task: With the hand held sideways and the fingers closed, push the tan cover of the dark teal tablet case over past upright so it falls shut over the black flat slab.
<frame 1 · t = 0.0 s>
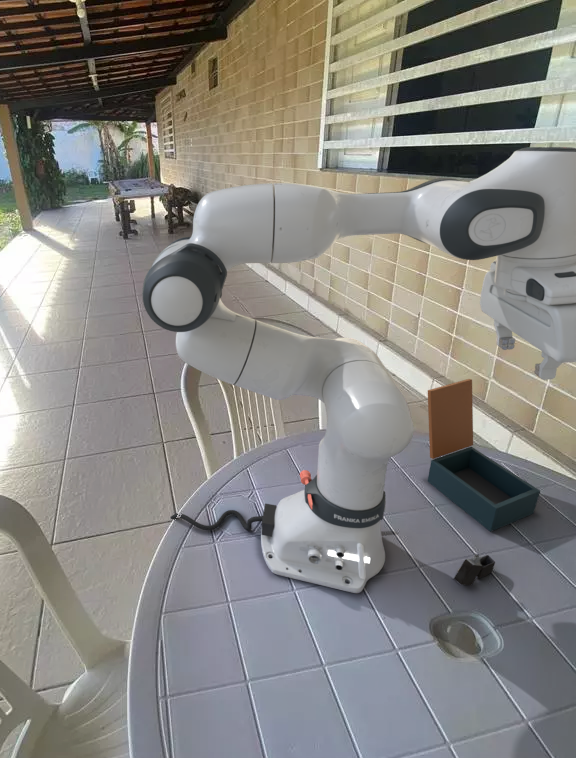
hand: (523, 361, 62), 39 cm above the table, tool pointing down, fingers open, 8 cm apart
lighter: (470, 578, 72), on the table
black flat slab: (478, 492, 88), in the tablet case, point 1 cm above the table
tablet case: (477, 496, 88), on the table
cover: (451, 418, 91), point 14 cm above the table, hinge at 102.0°
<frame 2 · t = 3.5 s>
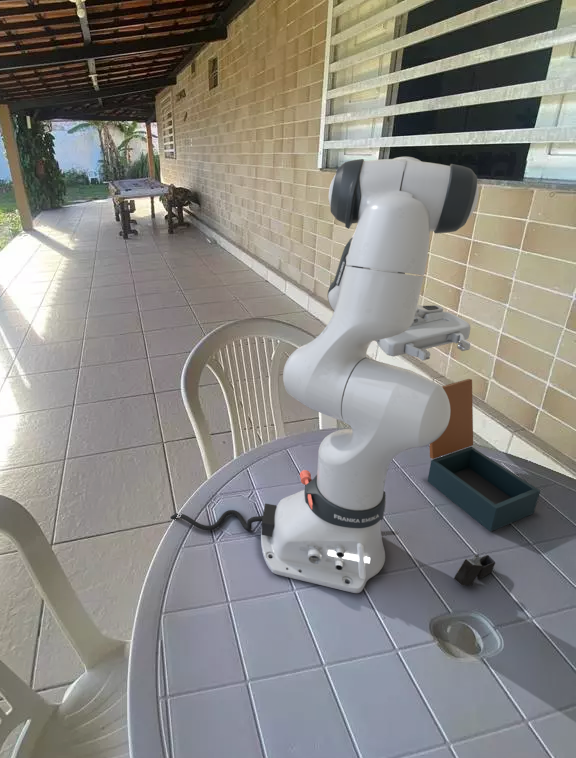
hand: (447, 352, 90), 28 cm above the table, tool horizontal, fingers open, 8 cm apart
nothing on the table moved.
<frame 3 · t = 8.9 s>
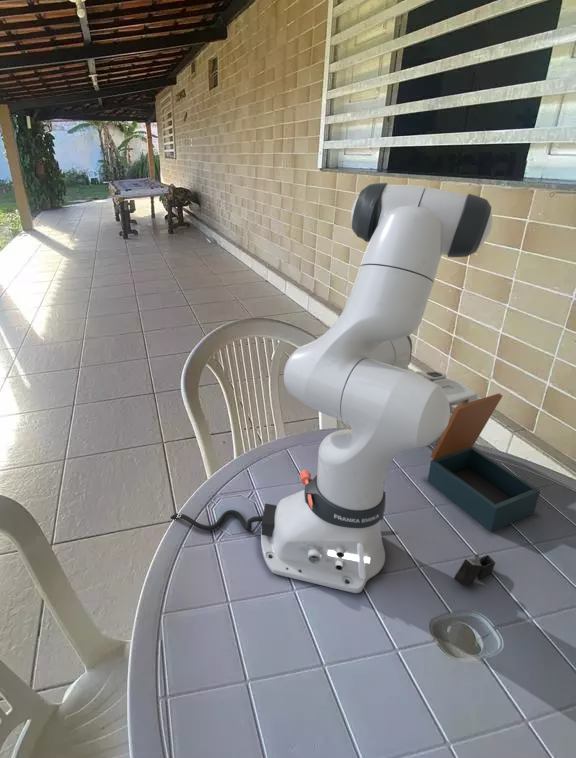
hand: (464, 421, 88), 15 cm above the table, tool horizontal, fingers closed
cover: (465, 427, 88), point 14 cm above the table, hinge at 76.3°, touching gripper
everything else where it was.
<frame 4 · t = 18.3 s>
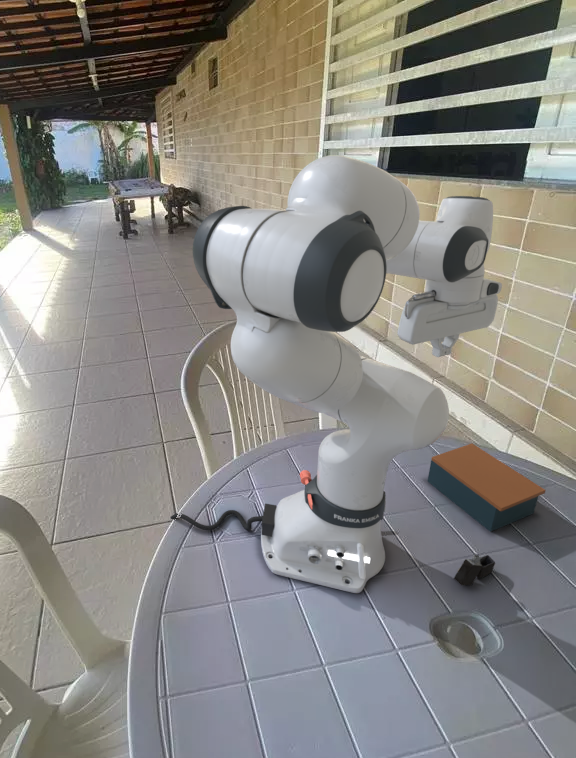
hand: (441, 354, 82), 31 cm above the table, tool pointing down, fingers closed
cover: (485, 474, 86), point 6 cm above the table, hinge at -0.2°
everything else where it was.
at the end: cover at +0° (first picture: +102°); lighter moved 0.2 cm from its start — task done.
